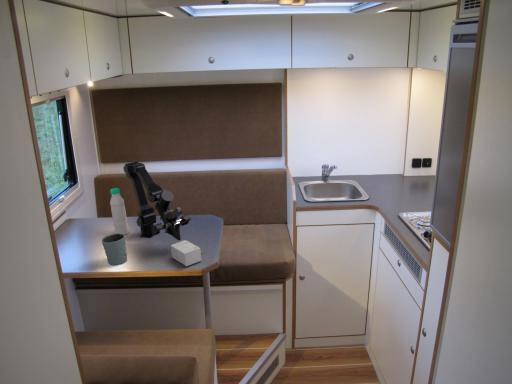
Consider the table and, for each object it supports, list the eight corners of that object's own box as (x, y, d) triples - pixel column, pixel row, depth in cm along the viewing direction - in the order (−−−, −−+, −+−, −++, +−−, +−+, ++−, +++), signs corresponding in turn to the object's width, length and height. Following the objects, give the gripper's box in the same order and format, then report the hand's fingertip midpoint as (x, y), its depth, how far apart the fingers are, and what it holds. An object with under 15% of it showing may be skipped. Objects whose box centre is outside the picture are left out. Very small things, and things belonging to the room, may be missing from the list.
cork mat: (179, 262, 195) (179, 261, 195) (191, 250, 206) (191, 249, 206) (192, 263, 193) (192, 262, 193) (204, 251, 204) (204, 250, 204)
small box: (172, 257, 199) (186, 266, 189) (170, 244, 197) (184, 253, 188) (187, 252, 204) (201, 260, 194) (185, 239, 202) (200, 247, 192)
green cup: (132, 257, 204) (128, 233, 200) (121, 267, 194) (117, 242, 191) (113, 256, 206) (109, 232, 203) (101, 266, 197) (96, 242, 193)
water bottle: (119, 237, 228) (111, 191, 221) (113, 233, 233) (105, 189, 226) (131, 233, 233) (124, 188, 225) (125, 229, 238) (118, 186, 230)
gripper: (150, 208, 193) (166, 238, 189) (186, 198, 204) (202, 225, 200) (145, 220, 202) (159, 249, 197) (180, 210, 213) (195, 236, 208)
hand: (179, 240), depth 200 cm, fingers closed
